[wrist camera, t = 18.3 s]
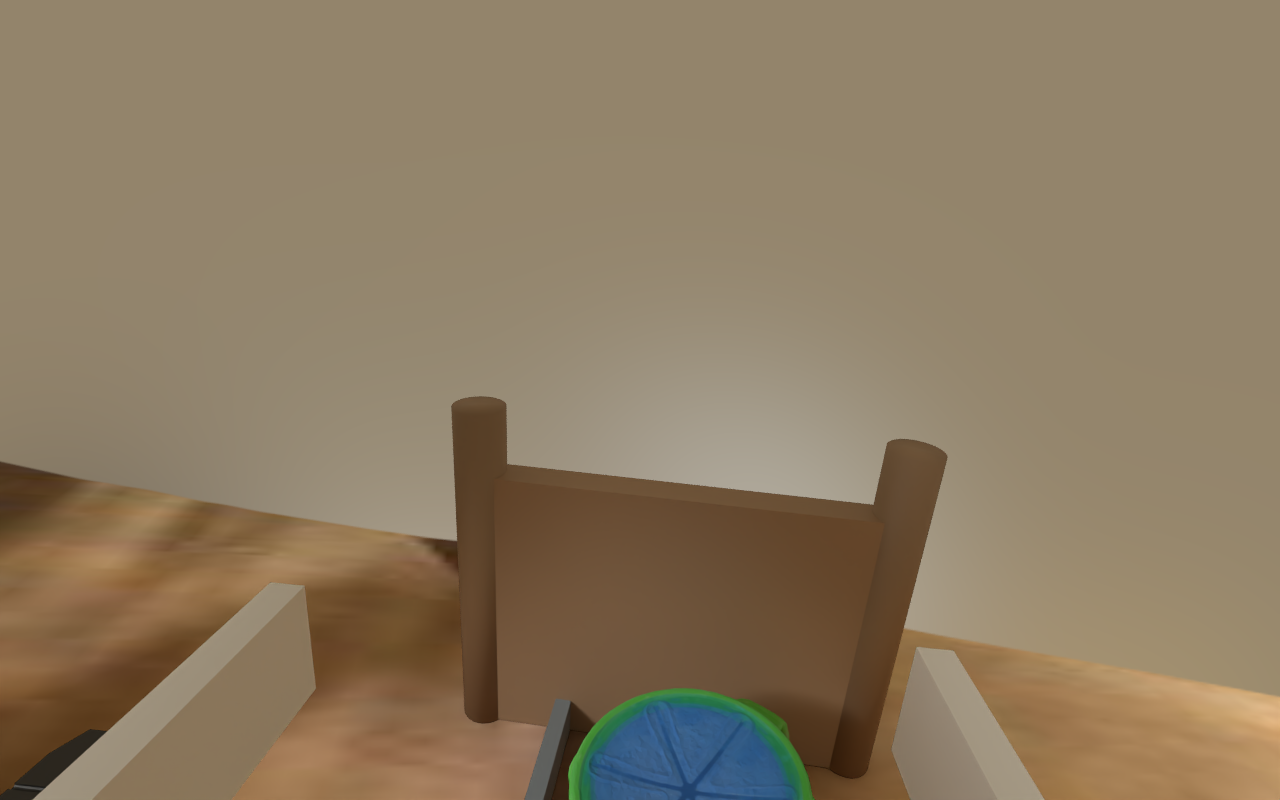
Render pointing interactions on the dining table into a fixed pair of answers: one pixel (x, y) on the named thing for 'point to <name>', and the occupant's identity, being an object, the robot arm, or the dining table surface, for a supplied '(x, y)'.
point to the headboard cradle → (680, 594)
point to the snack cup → (688, 751)
